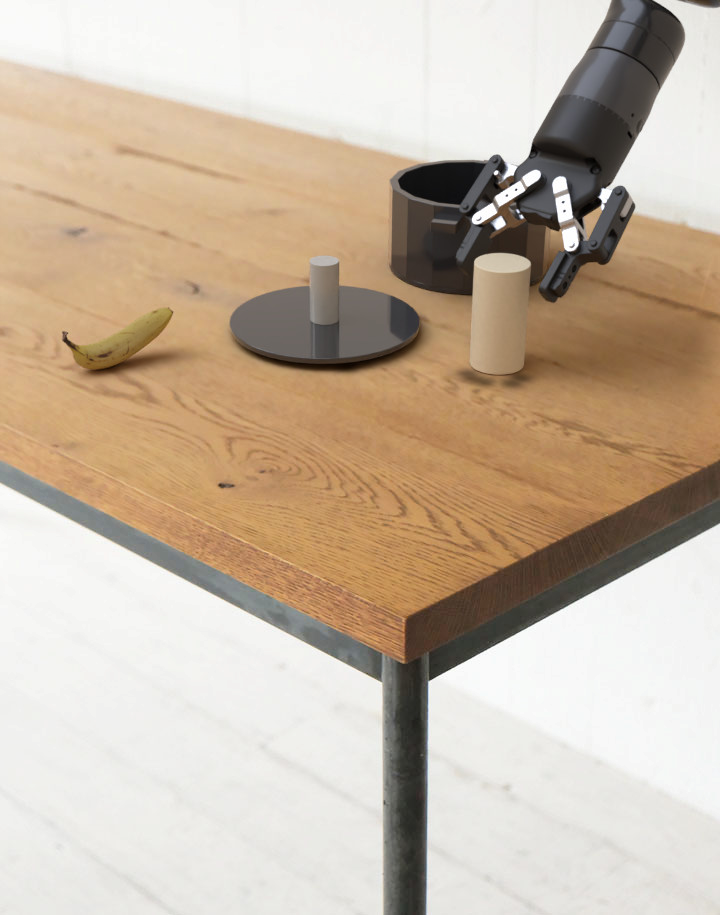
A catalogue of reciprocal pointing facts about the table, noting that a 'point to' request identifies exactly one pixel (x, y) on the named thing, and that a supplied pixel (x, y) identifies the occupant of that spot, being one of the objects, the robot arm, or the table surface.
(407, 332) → the lid
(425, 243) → the pot
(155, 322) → the banana
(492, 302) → the beige wooden cylinder
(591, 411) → the table surface
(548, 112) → the robot arm
